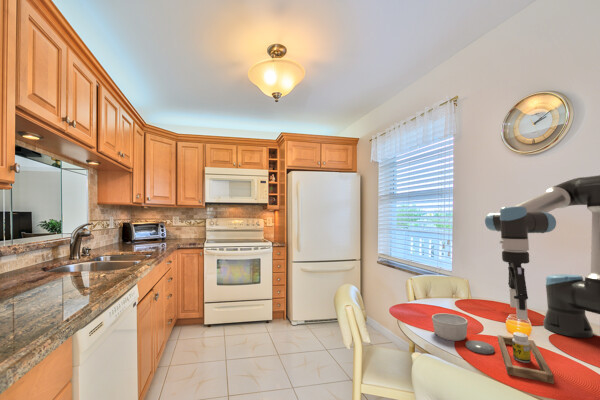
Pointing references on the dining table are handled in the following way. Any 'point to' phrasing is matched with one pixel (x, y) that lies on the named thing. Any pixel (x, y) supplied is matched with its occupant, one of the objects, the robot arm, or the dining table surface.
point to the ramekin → (450, 326)
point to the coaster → (480, 347)
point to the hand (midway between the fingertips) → (518, 313)
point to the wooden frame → (542, 375)
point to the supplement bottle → (521, 347)
